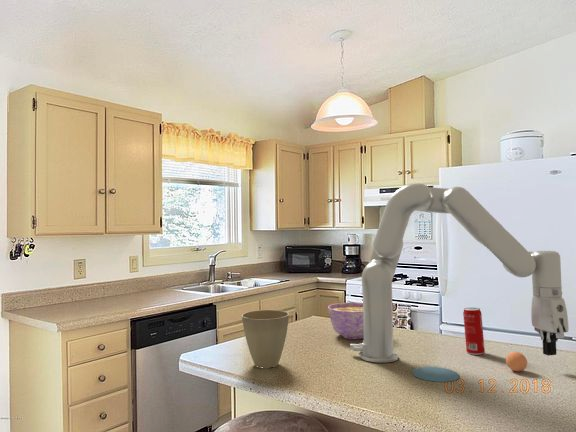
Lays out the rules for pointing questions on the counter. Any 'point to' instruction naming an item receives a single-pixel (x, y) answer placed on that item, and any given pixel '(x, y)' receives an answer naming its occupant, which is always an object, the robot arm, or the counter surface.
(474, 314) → the beverage can
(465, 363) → the counter surface
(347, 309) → the bowl of food
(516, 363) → the ball
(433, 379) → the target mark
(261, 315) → the plant pot
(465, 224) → the robot arm
